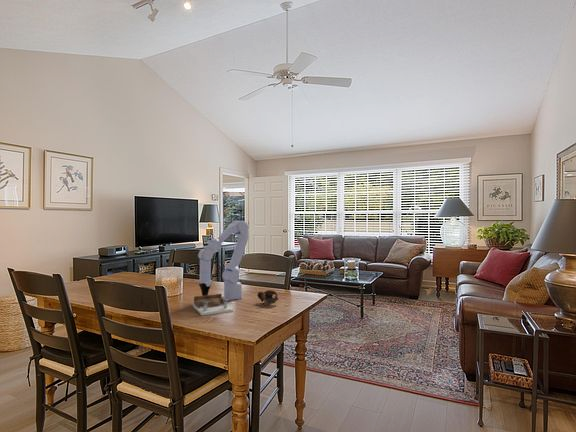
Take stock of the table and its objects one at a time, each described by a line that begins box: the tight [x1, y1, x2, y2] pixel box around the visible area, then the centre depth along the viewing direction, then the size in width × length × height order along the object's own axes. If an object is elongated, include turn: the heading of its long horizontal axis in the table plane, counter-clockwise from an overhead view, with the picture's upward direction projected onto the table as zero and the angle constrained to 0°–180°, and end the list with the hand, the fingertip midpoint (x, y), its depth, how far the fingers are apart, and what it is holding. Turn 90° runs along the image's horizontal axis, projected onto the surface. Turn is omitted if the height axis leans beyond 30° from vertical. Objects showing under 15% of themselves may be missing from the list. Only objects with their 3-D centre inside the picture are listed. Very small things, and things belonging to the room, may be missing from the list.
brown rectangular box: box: [193, 293, 224, 308], centre depth 171 cm, size 14×9×4 cm, turn 119°
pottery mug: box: [257, 289, 279, 307], centre depth 178 cm, size 12×10×8 cm
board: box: [192, 299, 234, 316], centre depth 168 cm, size 15×18×5 cm
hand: (204, 297), depth 180 cm, fingers closed
